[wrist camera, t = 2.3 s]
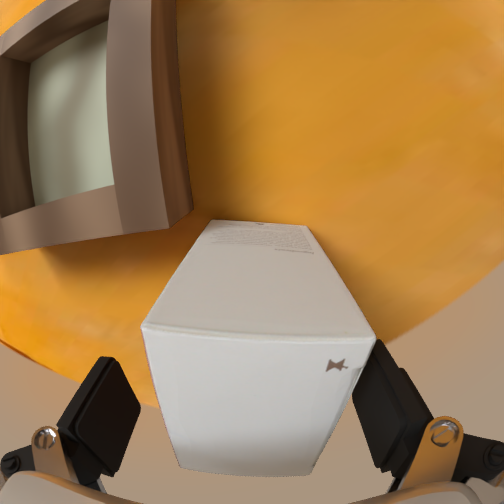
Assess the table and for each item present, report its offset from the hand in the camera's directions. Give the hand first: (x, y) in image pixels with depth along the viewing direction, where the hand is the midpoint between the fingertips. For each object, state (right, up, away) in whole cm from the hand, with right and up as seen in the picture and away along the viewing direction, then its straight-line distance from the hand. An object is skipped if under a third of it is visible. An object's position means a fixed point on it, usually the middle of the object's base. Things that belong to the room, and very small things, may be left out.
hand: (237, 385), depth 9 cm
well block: (-11, +14, +4) cm, 18 cm away
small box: (+1, +3, +8) cm, 8 cm away
